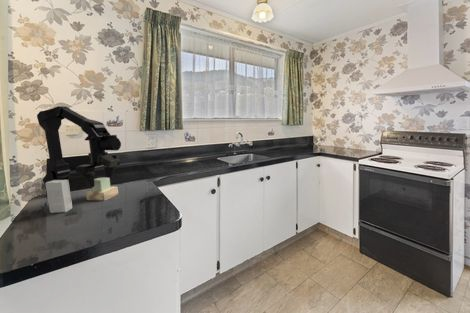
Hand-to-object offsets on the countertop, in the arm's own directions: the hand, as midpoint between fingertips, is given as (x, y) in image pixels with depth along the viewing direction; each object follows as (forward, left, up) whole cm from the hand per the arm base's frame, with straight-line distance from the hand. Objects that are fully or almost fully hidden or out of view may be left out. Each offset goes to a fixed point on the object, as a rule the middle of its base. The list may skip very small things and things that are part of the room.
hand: (101, 184), depth 104 cm
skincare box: (-3, -17, -6) cm, 19 cm away
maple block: (0, 0, -6) cm, 6 cm away
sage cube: (0, 0, -2) cm, 3 cm away
